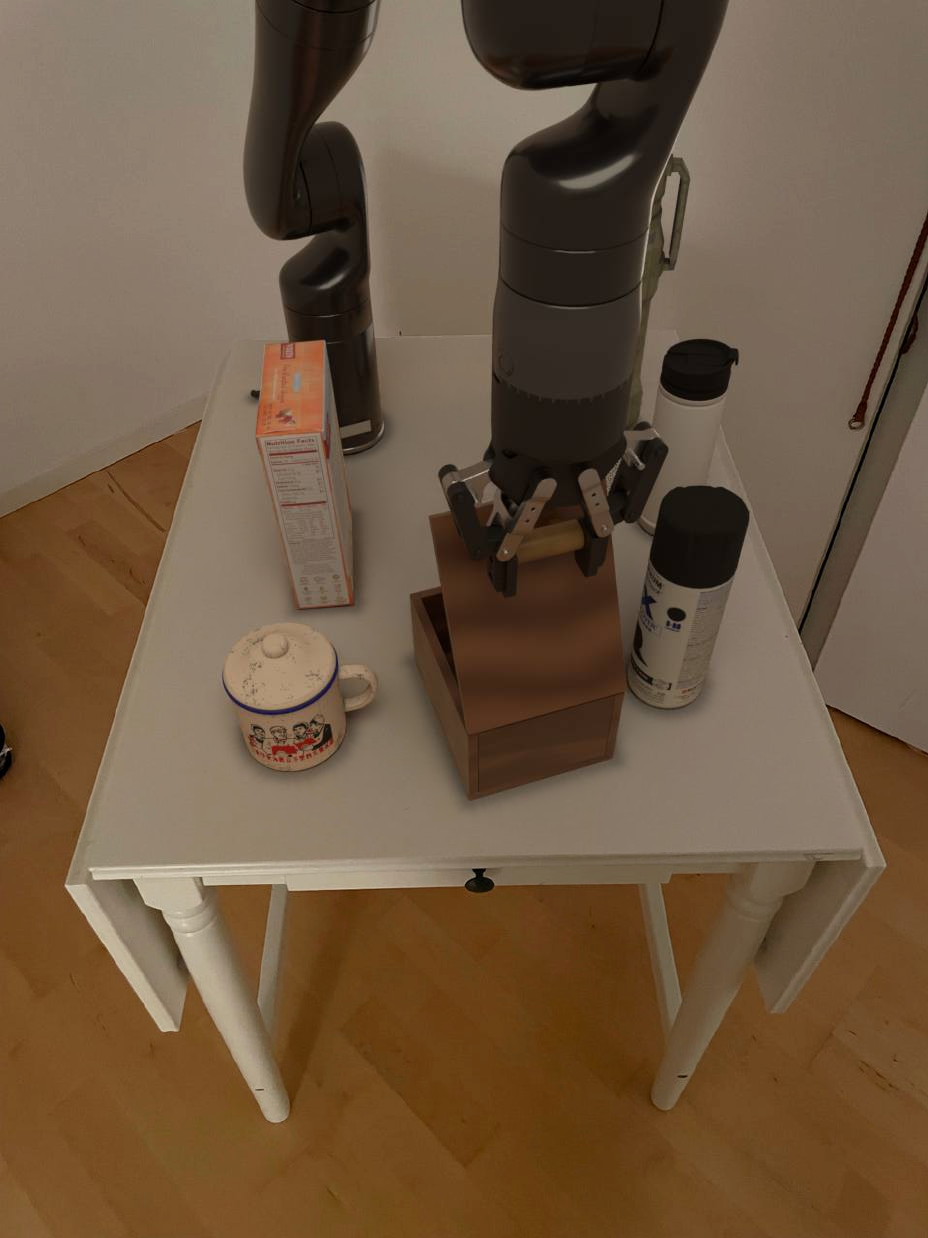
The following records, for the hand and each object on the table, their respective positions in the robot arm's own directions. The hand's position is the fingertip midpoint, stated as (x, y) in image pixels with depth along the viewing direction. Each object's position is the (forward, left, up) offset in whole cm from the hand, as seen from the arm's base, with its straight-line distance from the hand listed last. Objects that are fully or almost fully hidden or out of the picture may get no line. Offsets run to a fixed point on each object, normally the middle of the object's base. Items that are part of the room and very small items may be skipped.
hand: (545, 577), depth 61 cm
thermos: (-22, +42, -21) cm, 52 cm away
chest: (-5, +3, -21) cm, 22 cm away
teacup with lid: (-17, -9, -21) cm, 29 cm away
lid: (-2, +1, -5) cm, 5 cm away
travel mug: (-7, +33, -21) cm, 40 cm away
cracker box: (-31, +6, -21) cm, 38 cm away
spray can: (+4, +14, -21) cm, 26 cm away
